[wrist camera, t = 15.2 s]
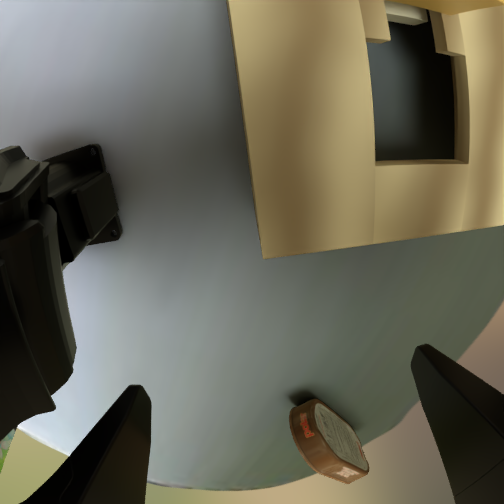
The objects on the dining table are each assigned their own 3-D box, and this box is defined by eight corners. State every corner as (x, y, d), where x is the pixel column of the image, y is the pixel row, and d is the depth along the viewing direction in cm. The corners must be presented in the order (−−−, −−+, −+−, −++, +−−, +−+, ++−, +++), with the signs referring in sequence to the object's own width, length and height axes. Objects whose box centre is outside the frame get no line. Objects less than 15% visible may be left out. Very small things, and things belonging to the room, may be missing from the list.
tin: (282, 395, 28) (293, 468, 20) (309, 382, 27) (326, 457, 20) (340, 437, 34) (353, 489, 26) (361, 427, 33) (376, 480, 26)
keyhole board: (255, 212, 19) (263, 259, 13) (212, -91, 9) (206, -141, 3) (462, 192, 19) (514, 223, 13) (429, -66, 8) (472, -89, 3)
